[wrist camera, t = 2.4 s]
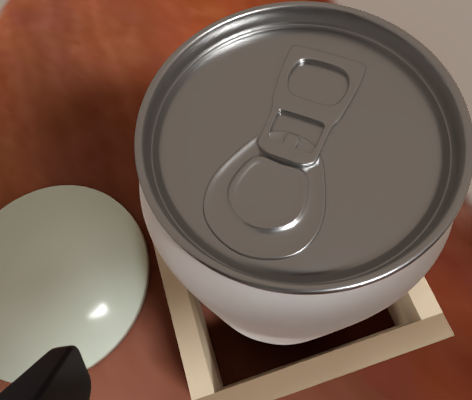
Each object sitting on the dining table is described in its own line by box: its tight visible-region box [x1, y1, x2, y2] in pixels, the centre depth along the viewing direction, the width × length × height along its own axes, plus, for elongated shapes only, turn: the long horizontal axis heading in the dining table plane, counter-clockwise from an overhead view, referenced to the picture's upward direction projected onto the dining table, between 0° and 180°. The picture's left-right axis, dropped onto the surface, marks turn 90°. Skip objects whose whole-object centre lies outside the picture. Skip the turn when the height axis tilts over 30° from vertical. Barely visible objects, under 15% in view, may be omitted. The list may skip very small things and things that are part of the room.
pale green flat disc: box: [0, 185, 150, 383], centre depth 18 cm, size 9×9×1 cm
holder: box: [153, 243, 455, 400], centre depth 16 cm, size 9×9×3 cm
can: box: [134, 1, 472, 345], centre depth 12 cm, size 6×6×12 cm
